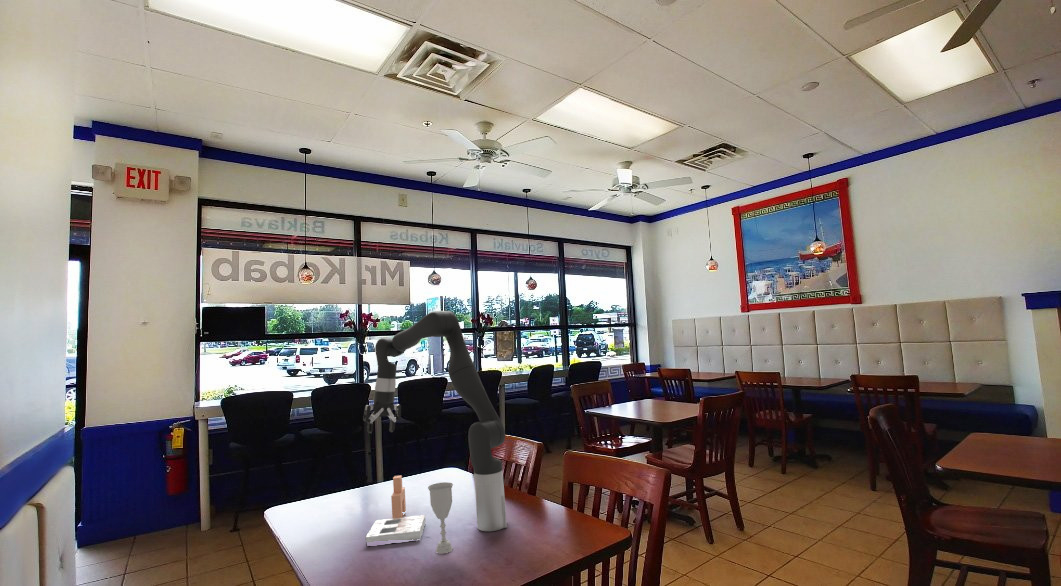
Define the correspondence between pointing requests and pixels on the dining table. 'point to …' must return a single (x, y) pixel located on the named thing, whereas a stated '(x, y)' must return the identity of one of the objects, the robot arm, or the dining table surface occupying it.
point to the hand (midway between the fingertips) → (380, 432)
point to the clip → (398, 498)
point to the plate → (397, 529)
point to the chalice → (441, 510)
